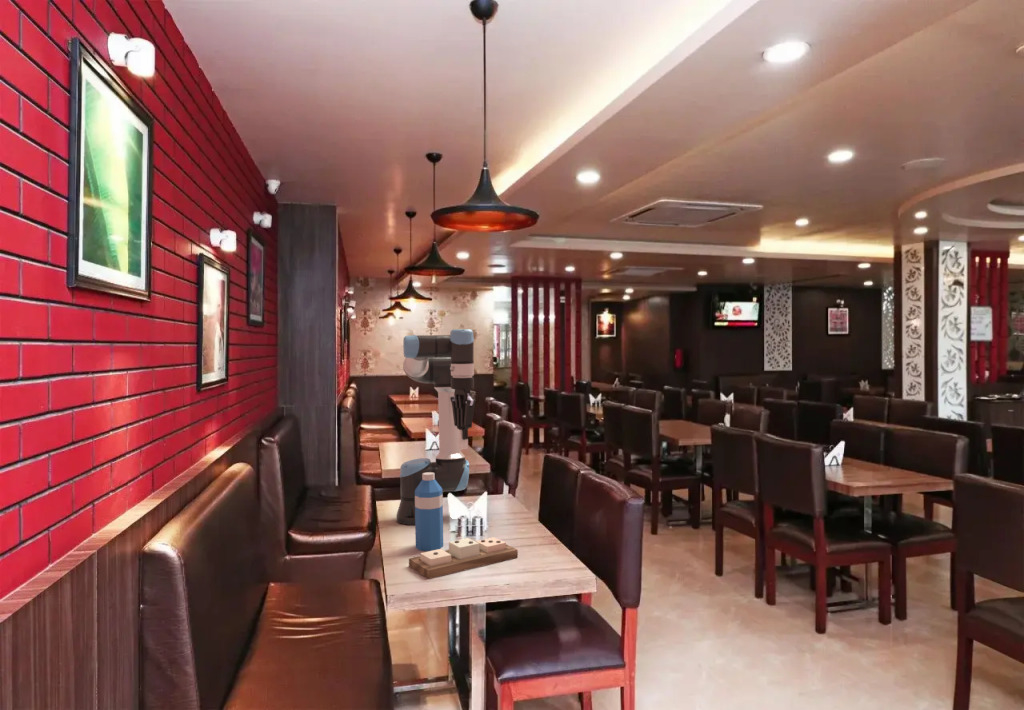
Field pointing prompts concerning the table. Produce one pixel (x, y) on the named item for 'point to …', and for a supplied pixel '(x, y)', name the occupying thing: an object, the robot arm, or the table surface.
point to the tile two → (463, 548)
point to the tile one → (435, 557)
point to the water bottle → (429, 514)
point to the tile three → (491, 545)
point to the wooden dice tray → (462, 562)
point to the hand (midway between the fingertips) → (463, 448)
